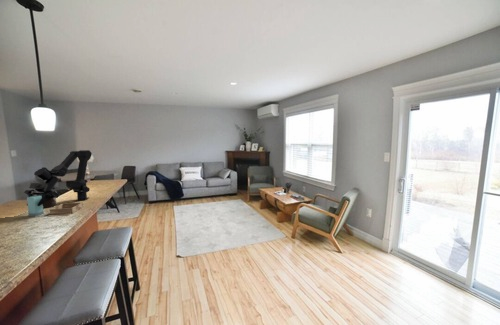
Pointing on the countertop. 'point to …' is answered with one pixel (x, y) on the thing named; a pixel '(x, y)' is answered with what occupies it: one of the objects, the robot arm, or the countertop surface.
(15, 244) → the countertop surface
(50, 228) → the countertop surface
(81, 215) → the countertop surface
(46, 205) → the coffee mug
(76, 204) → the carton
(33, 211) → the tea tin
